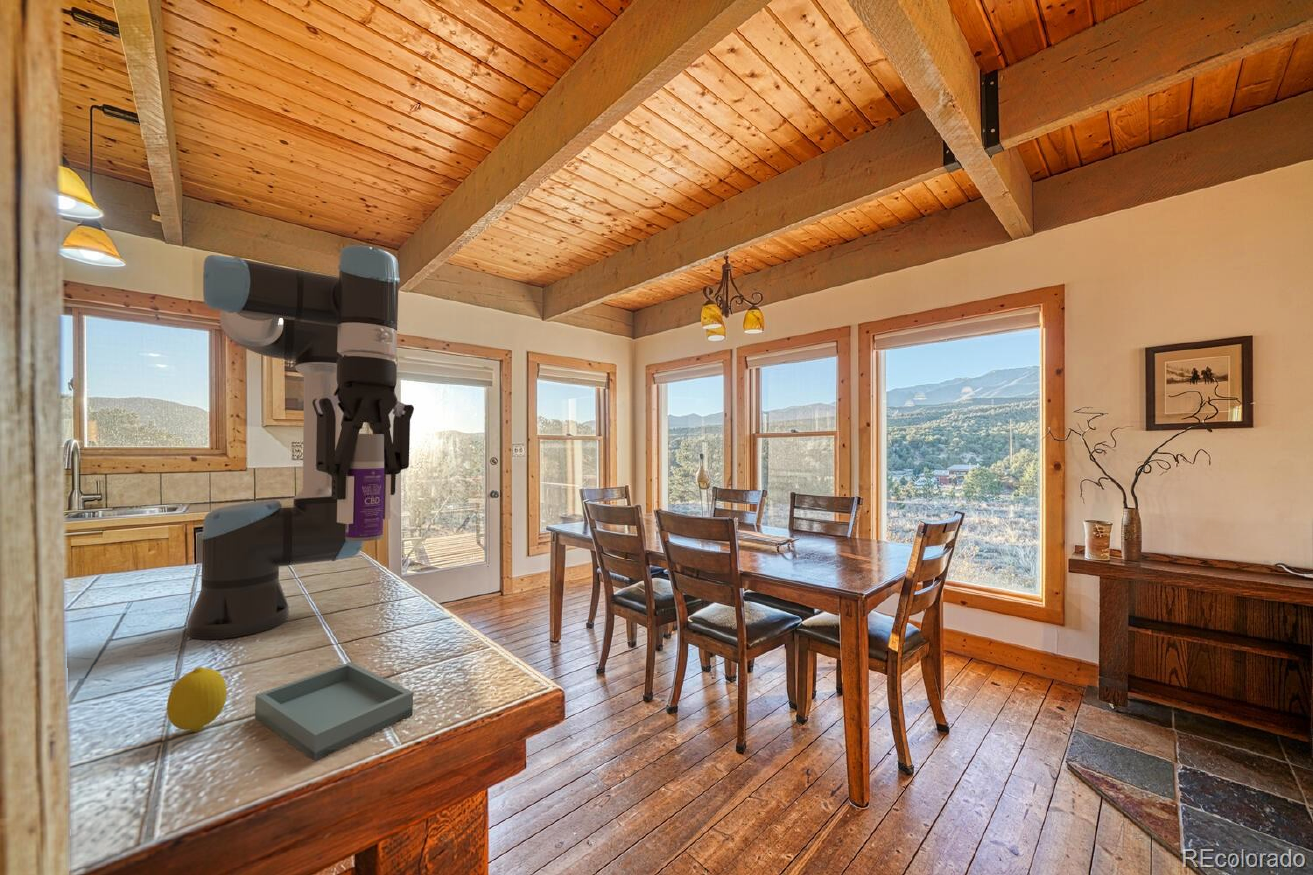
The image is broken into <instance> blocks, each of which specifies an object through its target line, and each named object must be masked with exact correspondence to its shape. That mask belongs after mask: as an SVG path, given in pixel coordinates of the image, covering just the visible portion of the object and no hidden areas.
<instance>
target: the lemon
mask: <svg viewBox="0 0 1313 875" xmlns="http://www.w3.org/2000/svg"><path fill="white" fill-rule="evenodd" d="M227 693H228V692H227V685H226V681H225V679H224V677H223V675H222V674H221V673H220V672H219V671H217V670H215V669H211V668H205V667H203V666H199V667H195V668H194V669H193V670H191V671H189V672H188V673H186V674H184V675H182V677H180V678H179V679H178V680H177V681H176V682H175V684H174V685H173V686H172V688H171V690H170V692H169V695H168V697H167V698H168V699H167V703H166V705H167V708H166V710H167V711H166V712H167V717H168V720H169V722H170V723H171V724H172V725H173V726H174V727H175V728H177V729H180V730H185V731H191V732H193V733H198V732H200V731H201V730H202V729H203V728H204V727H205V726H208V725H209V724H210V723H212V722H214V720H215V719H216V718H218V716H219V715H220V714H221V712H222V711H223V709H224V707H225V704H226V700H227V695H228V694H227Z"/></svg>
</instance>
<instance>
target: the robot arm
mask: <svg viewBox="0 0 1313 875" xmlns="http://www.w3.org/2000/svg"><path fill="white" fill-rule="evenodd" d="M338 261H339V263H338V265H337V269H338V276H335V275H334V276H333V275H328V274H323V273H318V272H311V271H307V270H302V269H301V270H300V269H295V268H290V267H286V266H285V267H284V266H279V265H276V264H275V265H274V264H270V263H266V262H265V263H264V262H259V261H254V260H248V259H244V258H241V257H238V256H223V255H217V254H210V255H207V256H206V257H205V259H204V261H203V269H202V271H203V272H202V273H203V274H202V292H203V294H202V296H203V297H202V298H203V302H204V305H205V306H206V307H207V308H209V309H212V310H215V311H220V312H219V324H220V328H221V329H222V331H223V333H224V334H225V336H227V338H228V339H230V341H232V342H233V343H234V344H236V345H238V346H240V347H241V348H244V349H245V350H248V351H251V352H253V353H254V354H258V355H261V356H264V357H269V358H273V359H279V360H281V359H282V360H288V361H289V360H290V361H295V365H294V366H295V370H296V371H297V372H298V373H299V374H300V375H301V376H302V377H303V426H302V427H303V430H302V432H303V433H302V434H303V436H302V437H303V440H302V441H303V442H302V444H303V445H302V446H303V448H302V489H301V491H300V492H297V494H296V495H295V496H294V497H293V505H292V506H290V507H289V506H288V507H287V506H286V507H282V504H281V501H280V500H276V499H275V500H274V499H273V500H272V499H271V500H270V499H269V500H258V501H251V502H244V503H238V504H232V505H227V506H224V507H220V508H217V509H213V510H212V511H210V512H208V513H207V514H206V515H205V516H204V519H203V526H202V534H201V536H200V540H202V556H201V557H202V558H201V575H200V576H201V583H200V592H199V594H198V596H197V599H196V601H195V603H194V605H193V608H192V610H191V613H190V615H189V618H188V620H187V627H186V628H187V629H186V630H187V633H186V634H187V636H188V637H190V638H193V639H198V640H222V639H230V638H232V639H233V638H238V637H243V636H249V635H253V634H257V633H262V632H264V631H268V630H270V629H273V628H275V627H278V626H280V625H282V624H283V623H285V622H287V620H288V619H289V617H290V616H289V615H290V614H289V613H290V610H289V608H290V607H289V603H288V601H287V598H286V596H285V592H284V591H283V588H282V585H281V583H280V579H279V578H280V567H285V566H292V565H293V566H295V565H304V564H313V563H322V562H330V561H331V562H337V561H339V560H344V559H345V560H346V559H352V558H354V557H356V556H357V555H358V554H359V553H360V551H361V550H362V548H363V545H364V542H365V541H357V542H355V541H346V540H345V533H346V524H352V523H353V504H354V476H347V474H348V472H349V468H350V464H351V461H352V457H353V453H354V449H355V446H356V442H357V438H358V434H360V431H361V429H362V428H363V426H364V424H365V423H366V424H368V426H369V428H370V430H371V431H372V434H384V503H383V520H390V519H391V497H392V496H395V494H396V481H397V480H396V476H397V475H398V474H401V471H403V470H407V469H408V468H409V466H410V441H411V439H410V437H411V420H412V417H413V413H414V410H415V407H414V405H413V404H405V403H403V402H401V401H399V400H398V397H397V395H396V393H395V392H396V391H395V389H396V385H397V379H398V378H397V376H398V373H397V372H398V371H397V370H398V367H397V366H398V364H397V363H396V362H395V361H394V360H395V359H396V358H397V355H398V354H397V353H398V321H399V320H398V317H399V316H398V314H399V290H400V288H399V287H400V282H401V278H400V273H399V272H400V270H399V261H398V259H397V258H396V257H395V256H394V255H393V254H392V253H391V252H388V251H386V250H384V249H381V248H378V247H373V246H368V245H360V244H359V245H357V244H356V245H355V244H353V245H347V246H345V247H343V248H342V249H341V251H340V254H339V260H338ZM391 413H392V414H393V415H394V417H393V421H392V422H393V423H392V425H391V420H390V414H391ZM391 426H392V434H391Z"/></svg>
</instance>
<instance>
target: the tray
mask: <svg viewBox="0 0 1313 875" xmlns="http://www.w3.org/2000/svg"><path fill="white" fill-rule="evenodd" d="M254 701H255V702H254V703H255V704H254V705H255V706H254V708H255V709H254V718H255V719H256V720H257V721H259V722H260V723H261V724H263V725H264V726H266V727H267V728H268V729H270V730H271V731H272V732H274V733H275V734H277V735H278V736H279V737H280V738H282V739H284V740H285V741H287V743H289V744H290V745H292V746H293V747H294V748H296V749H297V750H298V751H300V752H301V753H303V754H304V755H305V756H306V757H308V758H309V759H311V760H312V761H314V762H316V761H318V760H321V759H323V758H324V757H326V756H328V755H329V756H330V755H331V754H333V753H335V752H337V751H339V750H342V749H344V748H346V747H347V746H350V745H353V744H354V743H357V742H358V741H360V740H362V739H364V738H367V737H369V736H371V735H374V734H375V733H377V732H379V731H381V730H384V729H386V728H388V727H390V726H391V725H392V726H393V725H394V724H396V723H398V722H400V721H402V720H405V719H407V718H409V717H410V716H412V715H413V713H414V712H413V711H414V710H413V708H414V703H413V702H414V692H413V691H411V690H409V689H407V688H405V687H403V686H400V684H399V685H398V684H397V683H395V682H393V681H390V680H388V679H385V677H382V676H381V675H378V674H376V673H373V672H371V671H370V670H367V669H365V668H364V667H361V666H359V665H357V664H356V663H353V662H347V663H344V664H340V665H338V666H334V667H333V668H329V669H327V670H324V671H321V672H318V673H315V674H313V675H310V676H307V677H306V676H305V677H303V678H300V679H298V680H295V681H292V682H289V683H287V684H283V685H281V686H277V687H275V688H272V689H270V690H266V691H263V692H260V693H257V694H255V700H254Z"/></svg>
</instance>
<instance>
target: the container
mask: <svg viewBox="0 0 1313 875" xmlns="http://www.w3.org/2000/svg"><path fill="white" fill-rule="evenodd" d="M347 476H354V504H353V523H352V524H346V533H345V540H346V541H355V542H357V541H364V542H369V541H377V540H381V539H382V538H384V537H383V536H384V535H383V534H384V533H383V532H384V519H383V503H384V434H373V433H359V434H358V438H357V442H356V446H355V449H354V453H353V457H352V461H351V464H350V468H349V472H348V474H347Z"/></svg>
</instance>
